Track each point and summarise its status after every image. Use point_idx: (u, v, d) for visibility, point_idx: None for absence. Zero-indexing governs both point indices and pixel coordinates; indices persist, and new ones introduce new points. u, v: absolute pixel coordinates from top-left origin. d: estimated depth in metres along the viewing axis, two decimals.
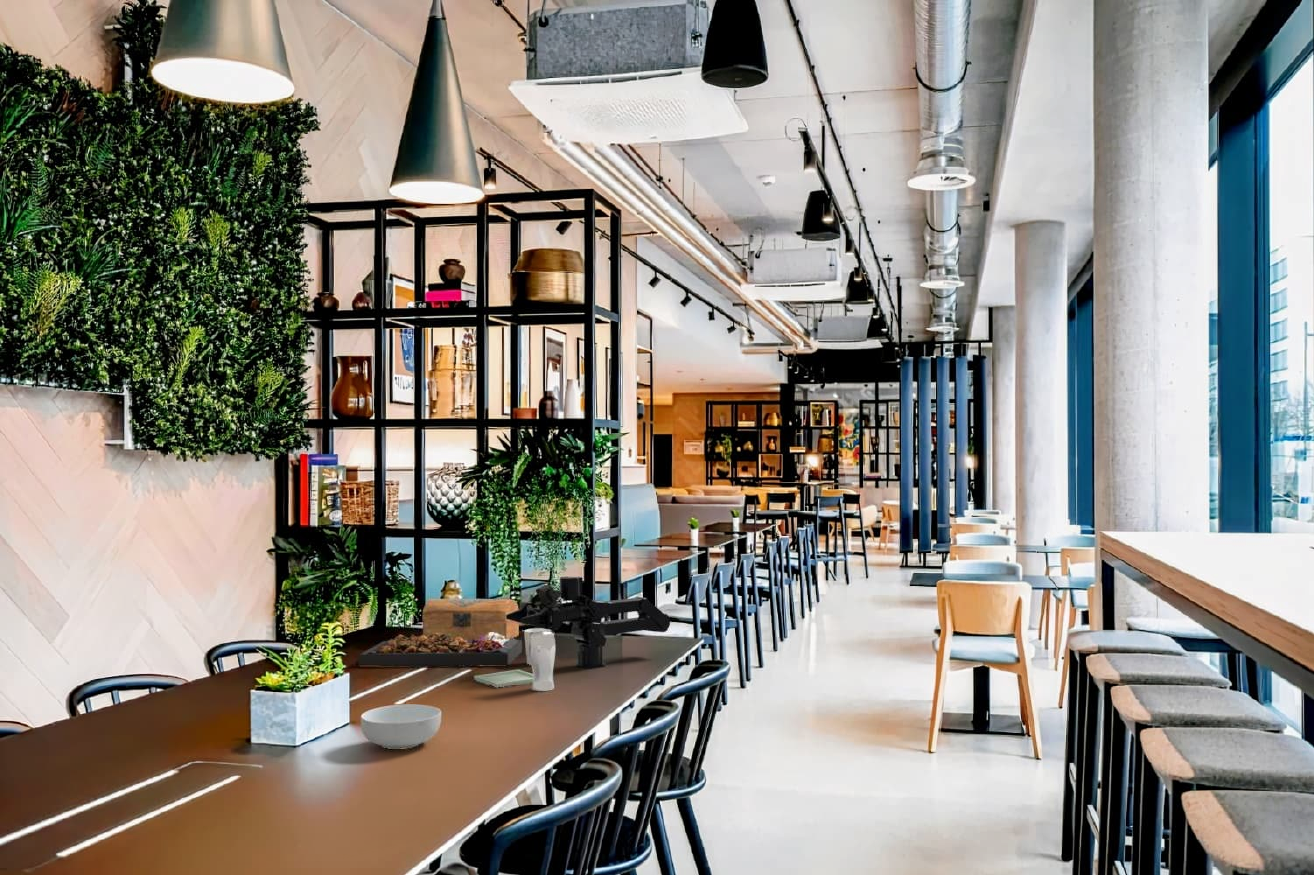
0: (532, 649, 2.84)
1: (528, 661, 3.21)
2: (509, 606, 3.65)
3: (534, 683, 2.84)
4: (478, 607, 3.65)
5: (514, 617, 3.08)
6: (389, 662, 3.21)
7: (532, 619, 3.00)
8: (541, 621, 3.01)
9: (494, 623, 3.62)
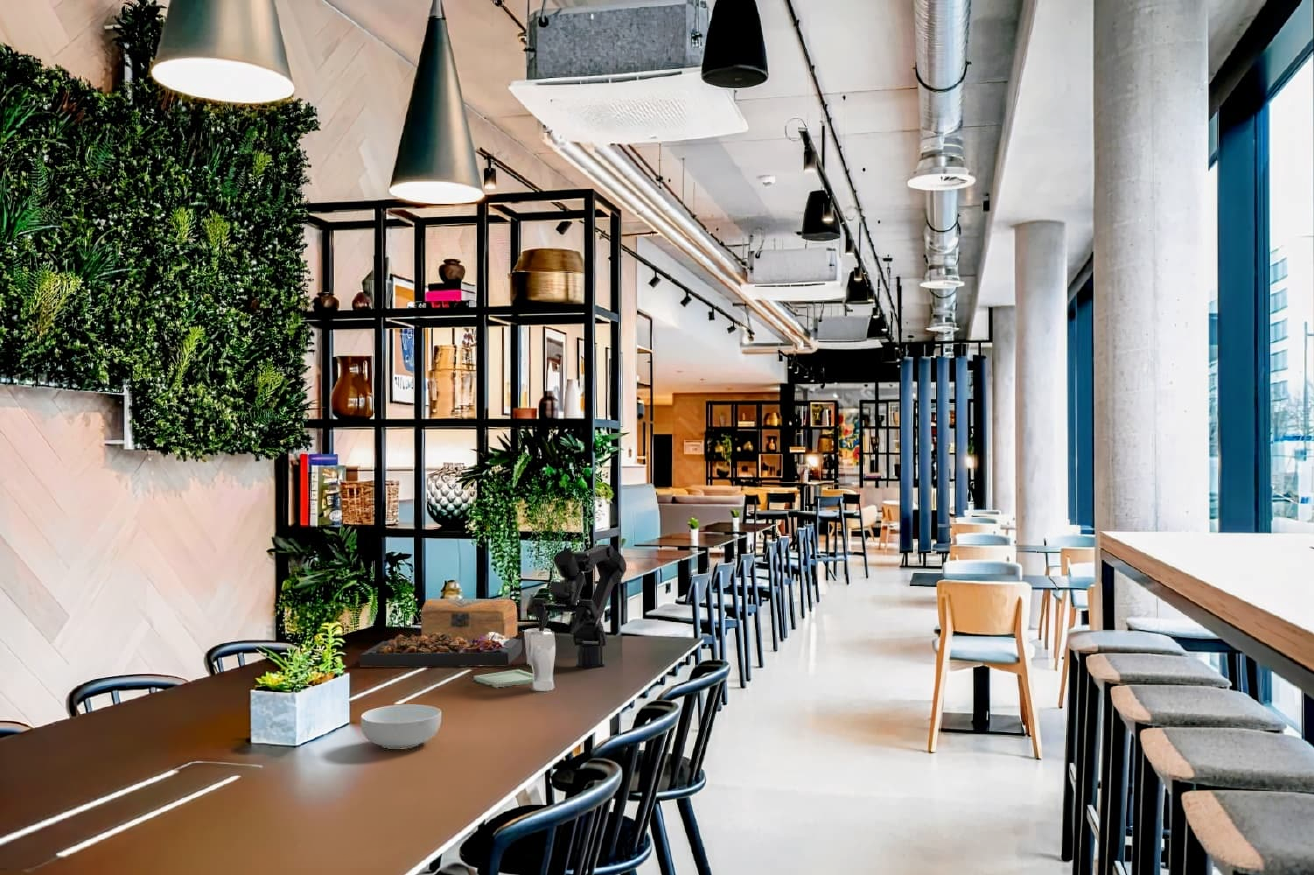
0: (532, 649, 2.84)
1: (528, 661, 3.21)
2: (507, 606, 3.65)
3: (534, 683, 2.84)
4: (476, 607, 3.64)
5: (543, 626, 2.98)
6: (390, 662, 3.21)
7: (576, 625, 2.94)
8: (581, 619, 2.97)
9: (492, 623, 3.62)
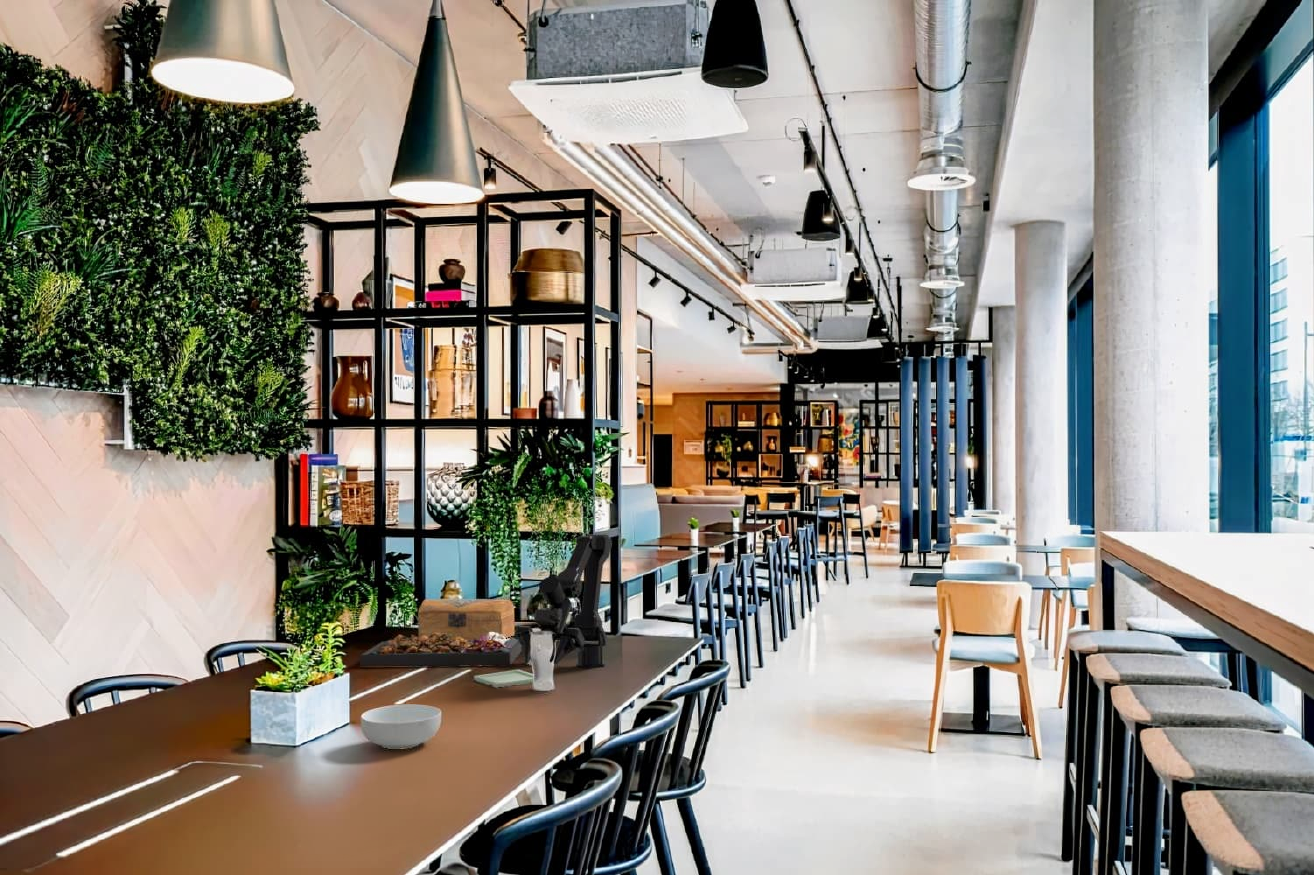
0: (532, 649, 2.84)
1: None
2: (504, 606, 3.65)
3: (534, 683, 2.84)
4: (474, 607, 3.64)
5: None
6: (391, 662, 3.21)
7: (561, 654, 2.85)
8: (565, 648, 2.87)
9: (489, 623, 3.62)
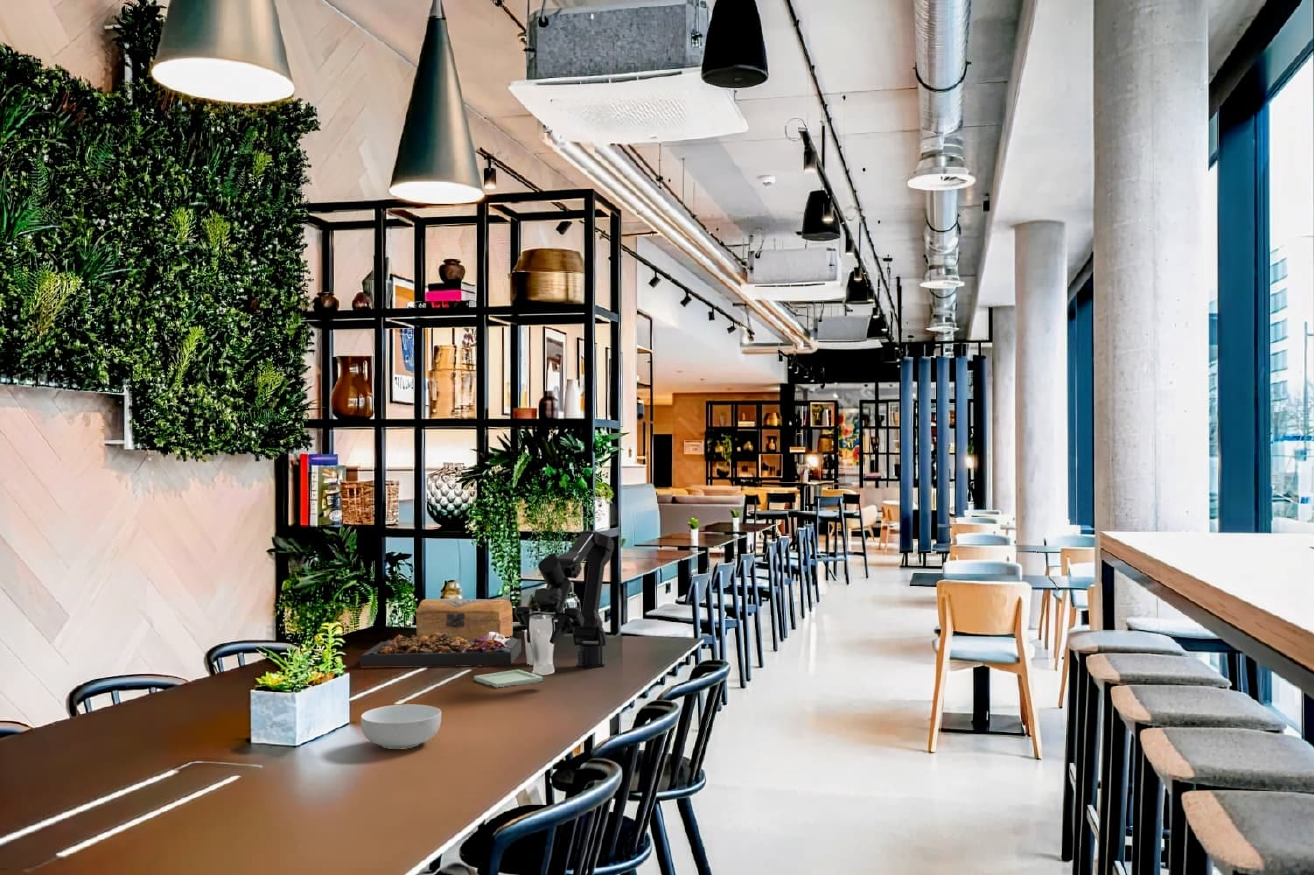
0: (532, 633, 2.84)
1: (528, 661, 3.21)
2: (502, 606, 3.65)
3: (534, 667, 2.85)
4: (472, 607, 3.64)
5: None
6: (391, 662, 3.20)
7: (558, 634, 2.85)
8: (563, 627, 2.88)
9: (488, 623, 3.62)
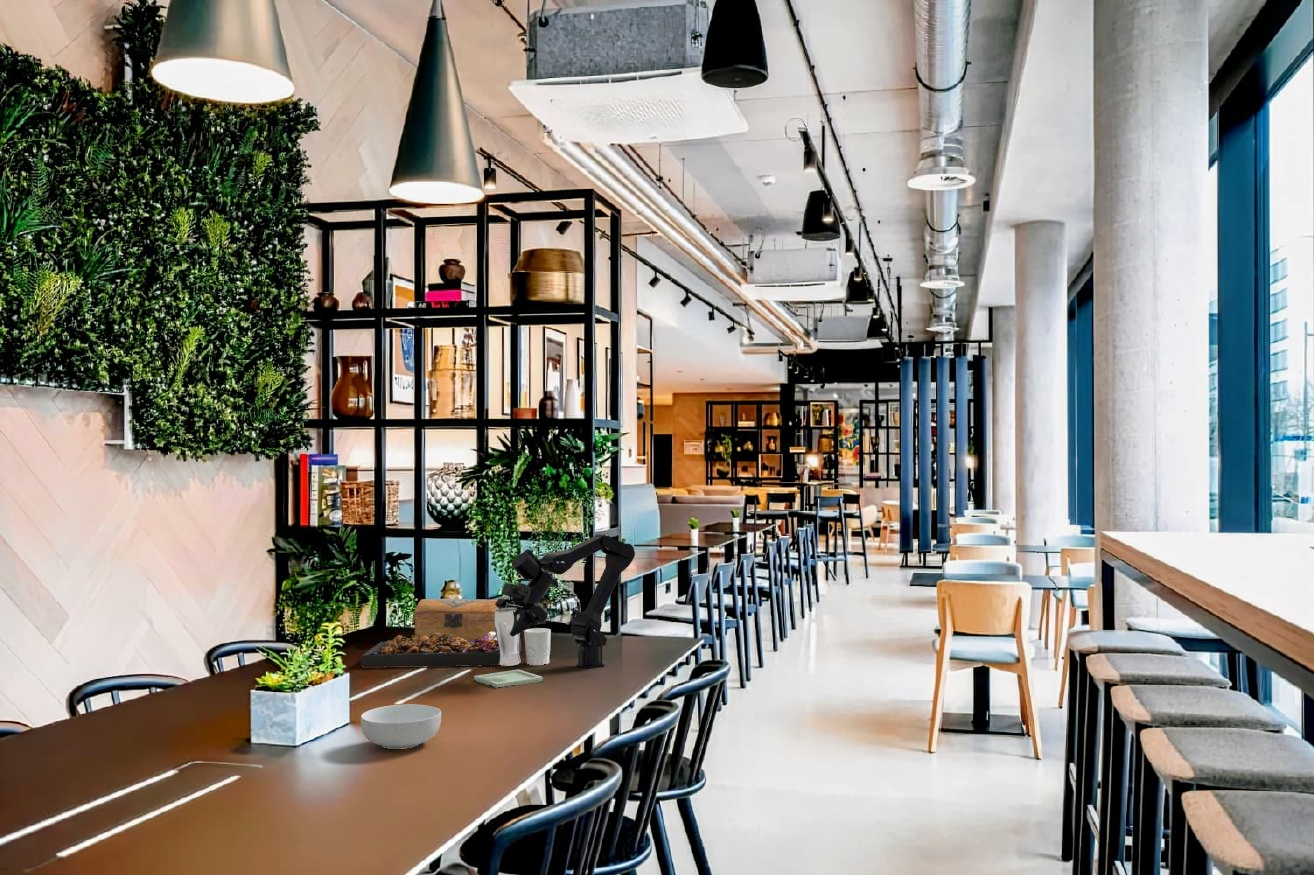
0: (495, 625, 2.97)
1: (528, 661, 3.21)
2: None
3: (499, 657, 2.98)
4: (470, 608, 3.64)
5: None
6: (392, 662, 3.20)
7: (519, 627, 2.95)
8: (526, 621, 2.97)
9: (485, 623, 3.62)
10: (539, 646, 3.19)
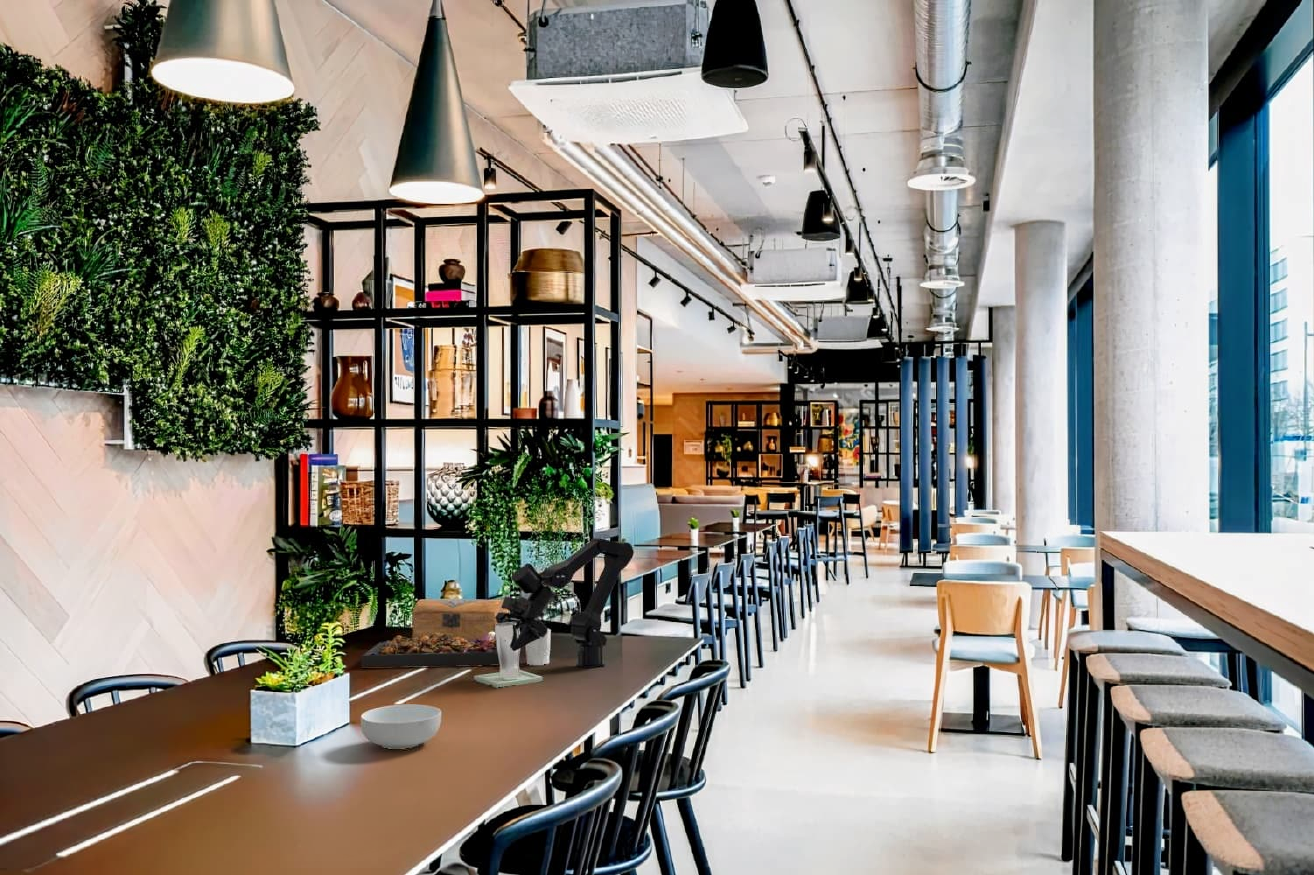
0: (495, 639, 2.98)
1: (528, 661, 3.21)
2: (498, 606, 3.65)
3: None
4: (467, 608, 3.64)
5: None
6: (393, 662, 3.20)
7: (520, 642, 2.94)
8: (528, 636, 2.96)
9: (483, 623, 3.62)
10: (539, 646, 3.19)
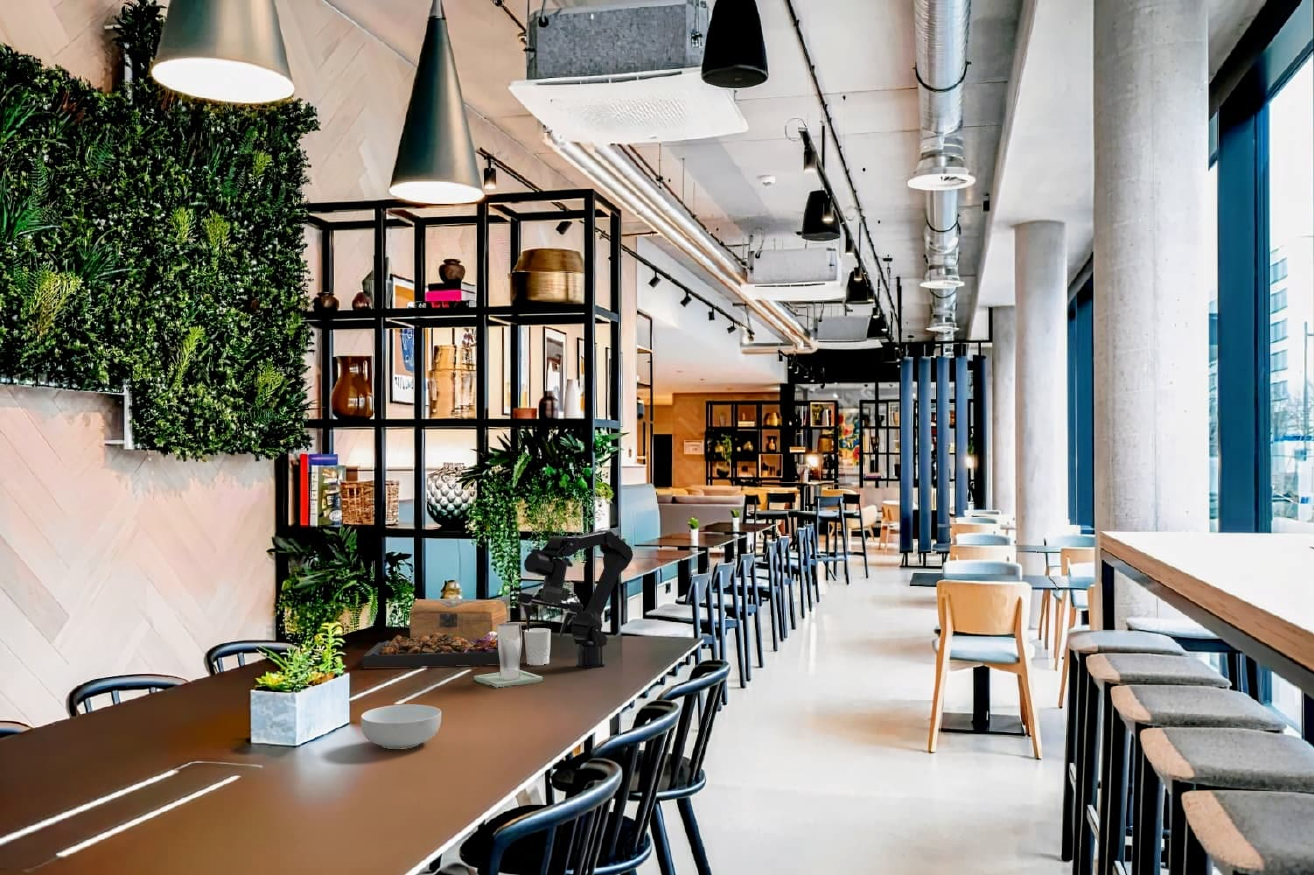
0: None
1: (528, 661, 3.21)
2: (495, 607, 3.65)
3: None
4: (465, 608, 3.64)
5: None
6: (394, 663, 3.19)
7: (565, 627, 3.04)
8: None
9: (480, 624, 3.62)
10: (539, 646, 3.19)
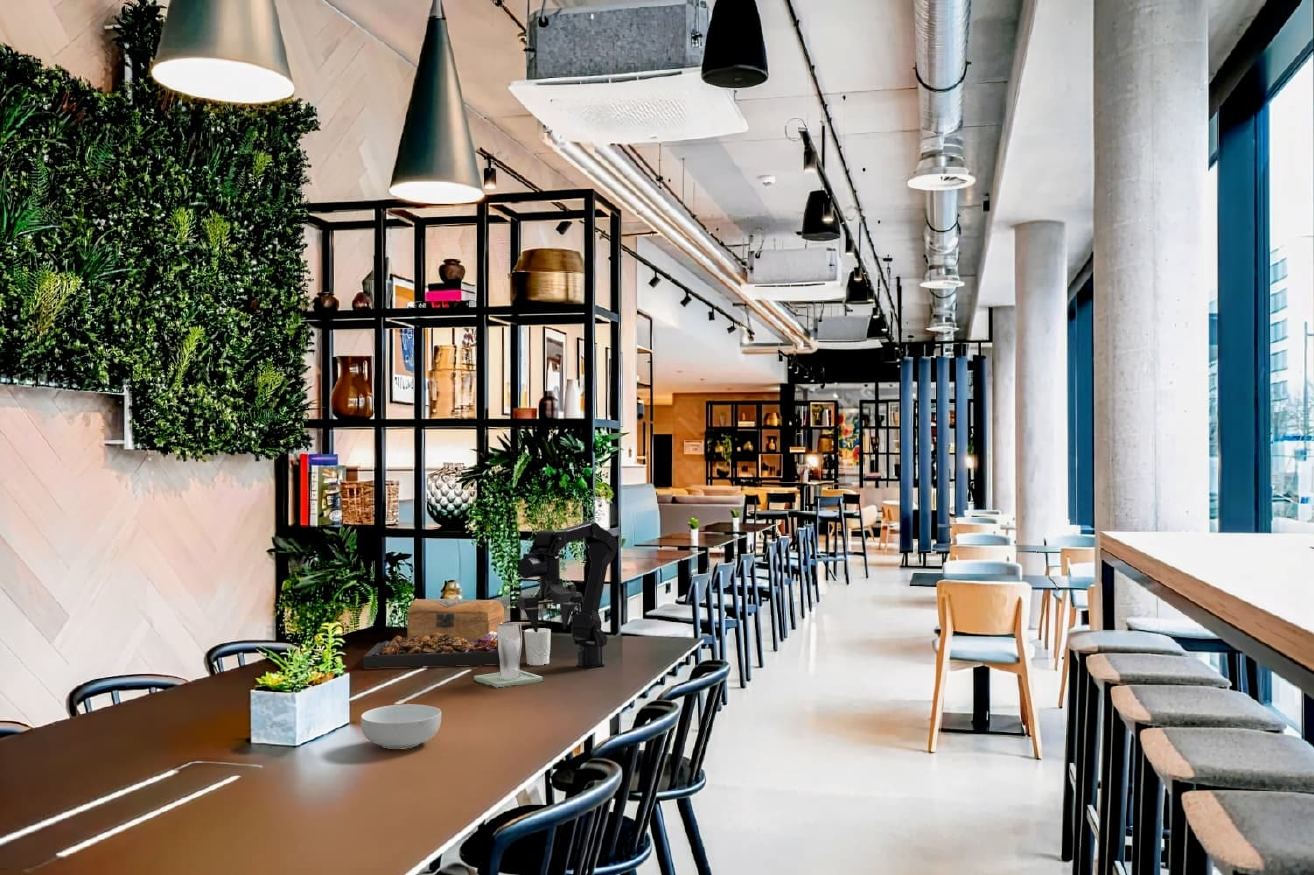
0: None
1: (528, 661, 3.21)
2: (492, 607, 3.64)
3: None
4: (461, 608, 3.64)
5: None
6: (394, 663, 3.19)
7: None
8: None
9: (476, 624, 3.61)
10: (539, 646, 3.19)
